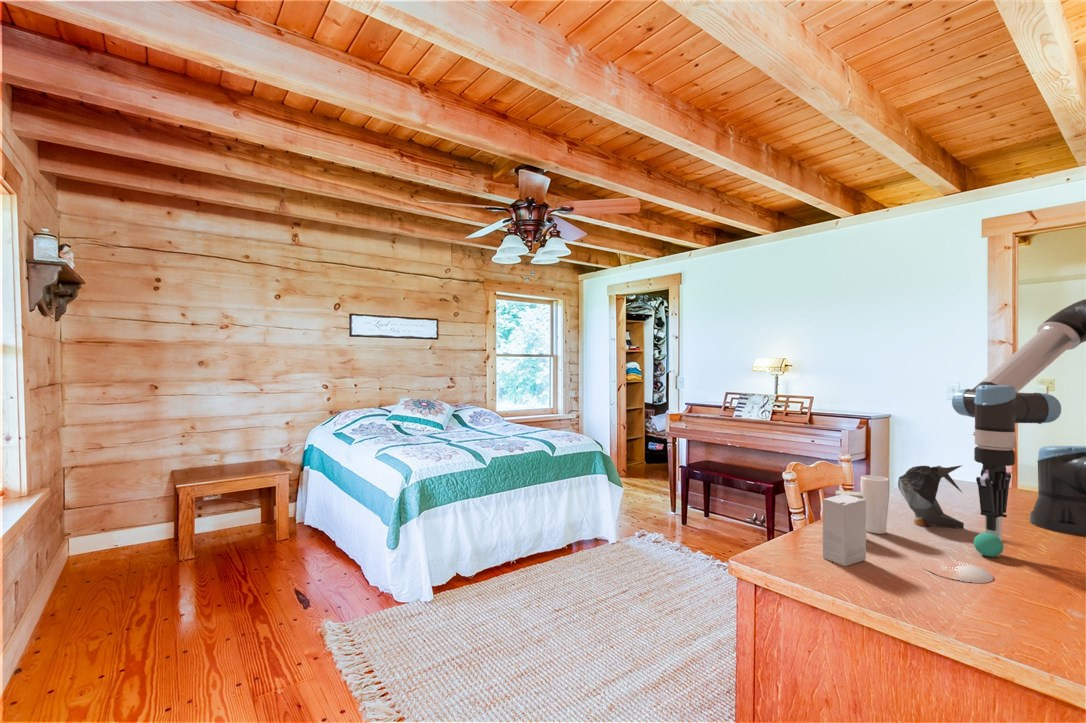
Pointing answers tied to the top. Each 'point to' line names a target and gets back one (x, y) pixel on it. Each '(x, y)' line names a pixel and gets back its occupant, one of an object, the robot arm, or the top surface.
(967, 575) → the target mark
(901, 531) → the top surface
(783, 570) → the top surface
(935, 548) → the top surface
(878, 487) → the drinking glass
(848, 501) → the skincare box
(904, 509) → the top surface
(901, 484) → the bird figurine
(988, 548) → the ball
